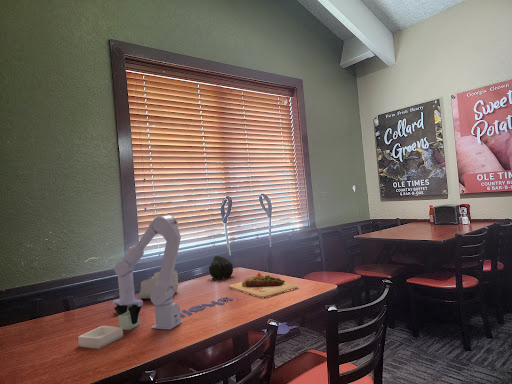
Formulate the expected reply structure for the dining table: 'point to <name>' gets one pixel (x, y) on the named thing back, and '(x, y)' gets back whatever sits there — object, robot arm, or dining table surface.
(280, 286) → the cutting board
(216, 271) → the squash
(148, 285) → the cream block
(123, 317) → the green crate
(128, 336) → the dining table surface
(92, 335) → the tray
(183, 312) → the signage
